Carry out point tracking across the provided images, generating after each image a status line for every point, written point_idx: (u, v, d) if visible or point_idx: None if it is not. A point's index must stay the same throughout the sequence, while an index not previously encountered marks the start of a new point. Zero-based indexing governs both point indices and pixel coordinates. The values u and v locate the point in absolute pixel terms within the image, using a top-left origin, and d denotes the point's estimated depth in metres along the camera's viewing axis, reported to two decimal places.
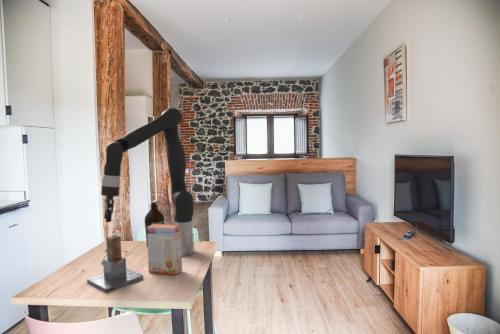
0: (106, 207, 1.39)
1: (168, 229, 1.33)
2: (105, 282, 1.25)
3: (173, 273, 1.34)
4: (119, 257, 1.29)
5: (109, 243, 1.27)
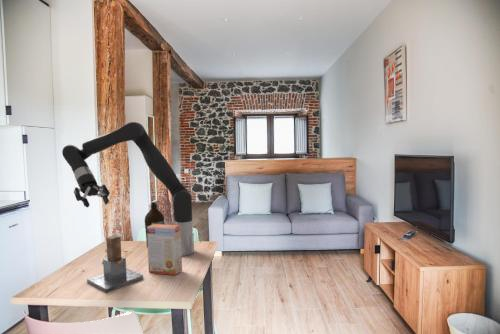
0: None
1: (168, 229, 1.33)
2: (105, 282, 1.25)
3: (173, 273, 1.34)
4: (119, 257, 1.29)
5: (109, 243, 1.27)
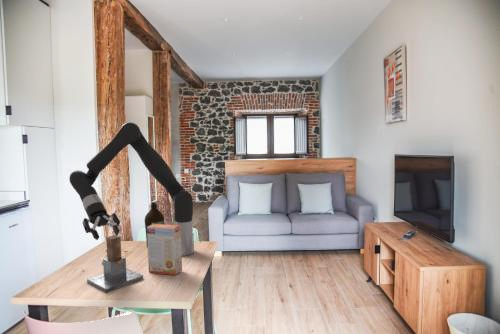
0: (92, 227, 1.32)
1: (168, 229, 1.33)
2: (105, 282, 1.25)
3: (173, 273, 1.34)
4: (119, 257, 1.29)
5: (109, 243, 1.27)
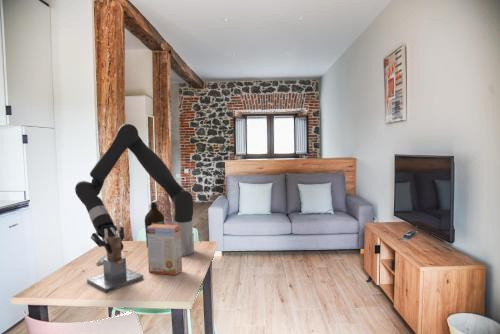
0: (102, 241, 1.29)
1: (168, 229, 1.33)
2: (105, 282, 1.25)
3: (173, 273, 1.34)
4: (119, 257, 1.29)
5: (109, 243, 1.27)
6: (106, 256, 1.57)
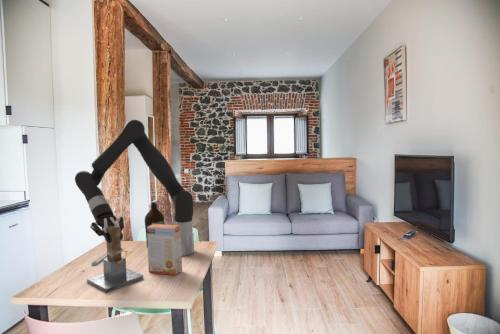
0: (102, 231, 1.29)
1: (168, 229, 1.33)
2: (105, 282, 1.25)
3: (173, 273, 1.34)
4: (119, 247, 1.29)
5: (108, 232, 1.27)
6: (103, 256, 1.57)
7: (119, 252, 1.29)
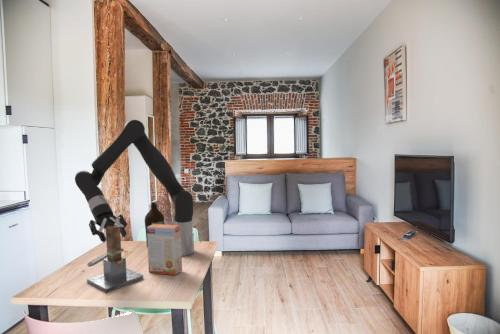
0: None
1: (168, 229, 1.33)
2: (105, 282, 1.25)
3: (173, 273, 1.34)
4: (119, 247, 1.29)
5: (108, 232, 1.27)
6: (101, 257, 1.56)
7: (119, 251, 1.29)
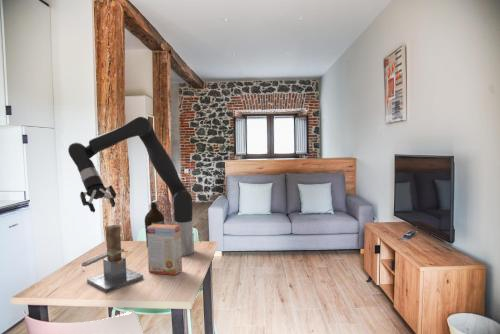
0: None
1: (168, 229, 1.33)
2: (105, 282, 1.25)
3: (173, 273, 1.34)
4: (119, 247, 1.29)
5: (108, 232, 1.27)
6: (98, 257, 1.56)
7: (119, 251, 1.29)
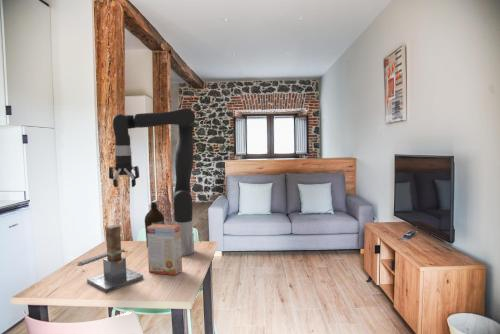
0: None
1: (168, 229, 1.33)
2: (105, 282, 1.25)
3: (173, 273, 1.34)
4: (119, 247, 1.29)
5: (108, 232, 1.27)
6: (96, 257, 1.56)
7: (119, 251, 1.29)
